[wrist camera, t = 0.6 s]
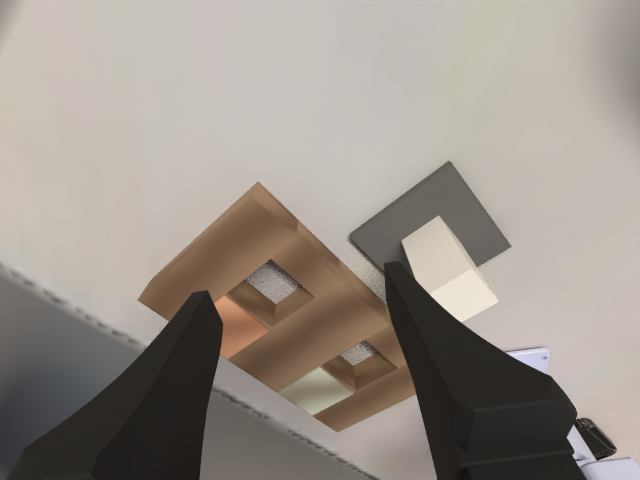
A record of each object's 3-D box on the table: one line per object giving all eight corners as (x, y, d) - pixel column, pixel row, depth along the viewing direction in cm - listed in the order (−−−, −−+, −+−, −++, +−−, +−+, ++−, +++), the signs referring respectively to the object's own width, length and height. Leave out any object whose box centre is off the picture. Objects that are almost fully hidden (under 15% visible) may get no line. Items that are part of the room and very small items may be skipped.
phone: (620, 452, 38) (496, 496, 43) (612, 441, 39) (492, 486, 44) (590, 421, 35) (461, 473, 40) (583, 411, 36) (458, 463, 41)
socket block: (438, 354, 31) (448, 381, 29) (336, 407, 35) (337, 434, 33) (258, 181, 22) (250, 198, 20) (152, 278, 27) (136, 302, 24)
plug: (461, 244, 24) (498, 301, 19) (425, 267, 25) (450, 327, 20) (438, 215, 23) (471, 268, 18) (401, 240, 24) (422, 297, 19)
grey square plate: (507, 242, 25) (511, 246, 24) (413, 298, 28) (415, 303, 27) (449, 160, 22) (452, 163, 21) (350, 233, 24) (350, 237, 24)
